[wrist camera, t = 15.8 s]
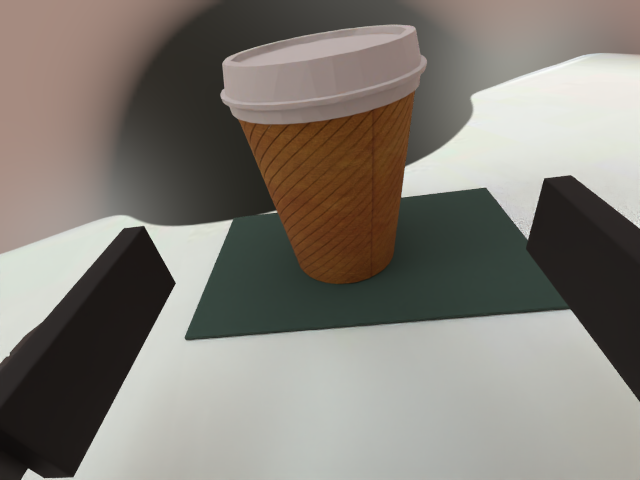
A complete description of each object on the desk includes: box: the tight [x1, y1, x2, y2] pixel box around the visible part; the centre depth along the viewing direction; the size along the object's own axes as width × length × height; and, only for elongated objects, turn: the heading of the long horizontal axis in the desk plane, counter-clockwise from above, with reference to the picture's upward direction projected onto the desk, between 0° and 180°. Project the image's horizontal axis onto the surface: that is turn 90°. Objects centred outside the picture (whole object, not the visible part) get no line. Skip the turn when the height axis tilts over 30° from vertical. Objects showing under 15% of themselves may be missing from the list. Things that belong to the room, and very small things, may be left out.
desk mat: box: [185, 188, 569, 340], centre depth 22 cm, size 20×12×1 cm, turn 89°
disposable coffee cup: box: [221, 25, 427, 284], centre depth 19 cm, size 10×10×12 cm
